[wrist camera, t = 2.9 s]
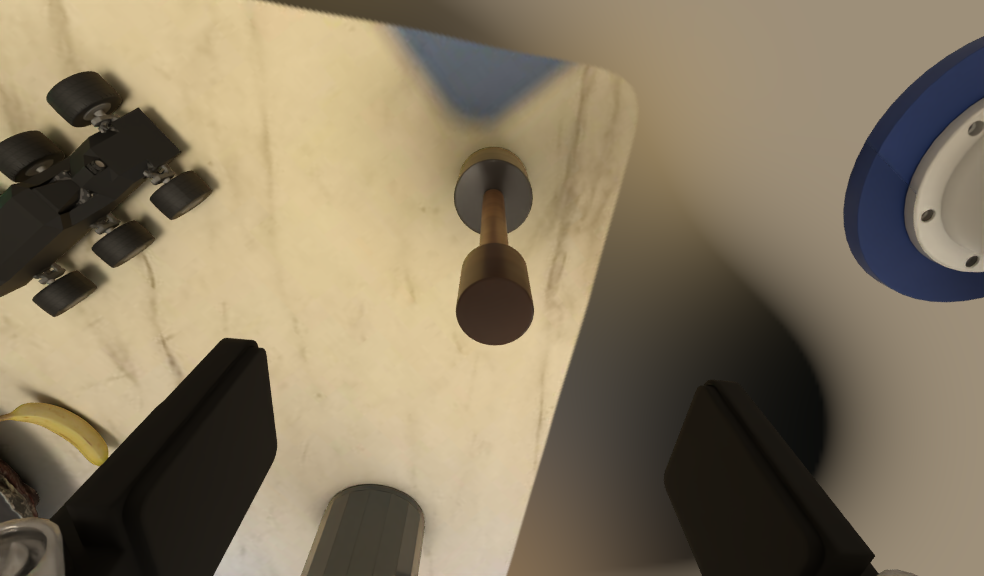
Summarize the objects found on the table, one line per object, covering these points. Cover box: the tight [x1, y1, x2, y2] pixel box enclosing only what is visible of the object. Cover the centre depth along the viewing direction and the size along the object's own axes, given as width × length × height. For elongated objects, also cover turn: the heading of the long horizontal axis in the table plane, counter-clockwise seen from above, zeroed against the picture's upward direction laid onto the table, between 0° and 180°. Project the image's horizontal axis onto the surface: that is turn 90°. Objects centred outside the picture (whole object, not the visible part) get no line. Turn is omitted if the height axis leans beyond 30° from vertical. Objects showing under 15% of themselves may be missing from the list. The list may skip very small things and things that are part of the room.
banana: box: [0, 403, 108, 466], centre depth 36 cm, size 8×2×4 cm, turn 41°
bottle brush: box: [454, 147, 534, 345], centre depth 22 cm, size 4×4×17 cm
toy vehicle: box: [0, 71, 212, 317], centre depth 26 cm, size 8×15×9 cm, turn 125°
